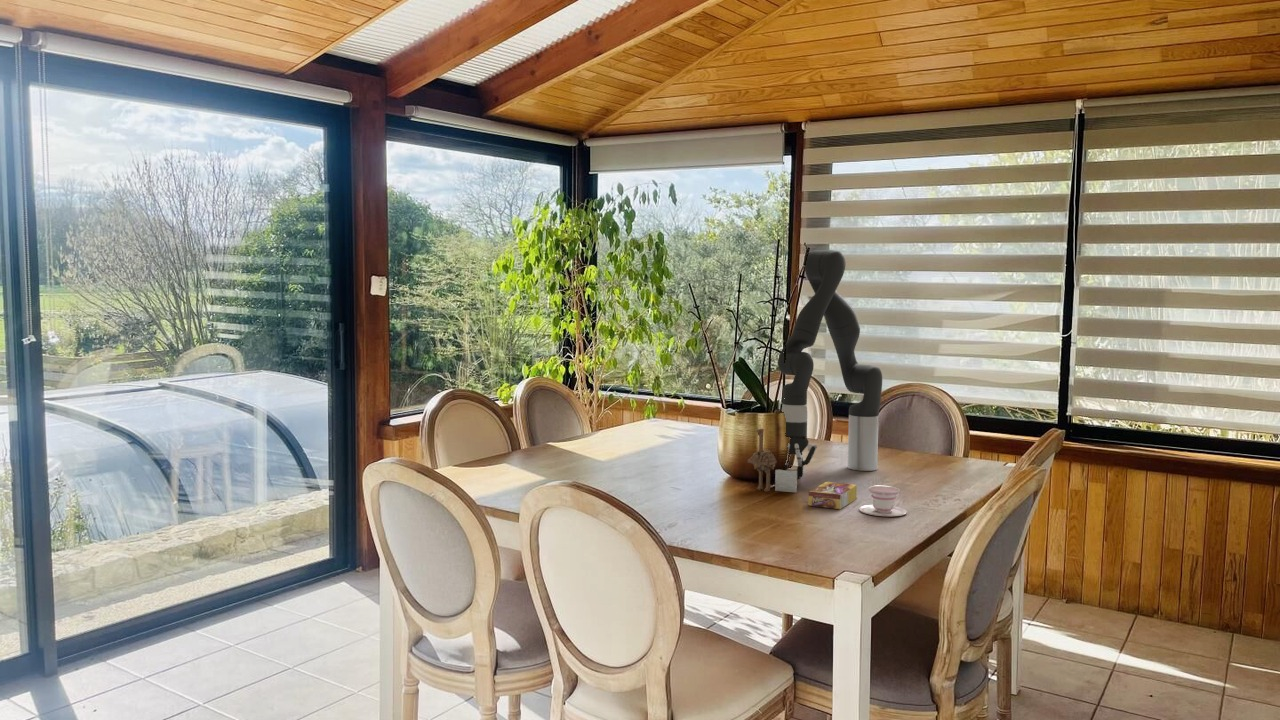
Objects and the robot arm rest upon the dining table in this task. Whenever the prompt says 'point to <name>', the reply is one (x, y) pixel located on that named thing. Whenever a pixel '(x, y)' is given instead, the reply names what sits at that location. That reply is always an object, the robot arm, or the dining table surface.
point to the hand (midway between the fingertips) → (792, 477)
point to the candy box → (832, 495)
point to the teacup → (883, 502)
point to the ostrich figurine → (763, 462)
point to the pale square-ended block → (786, 480)
